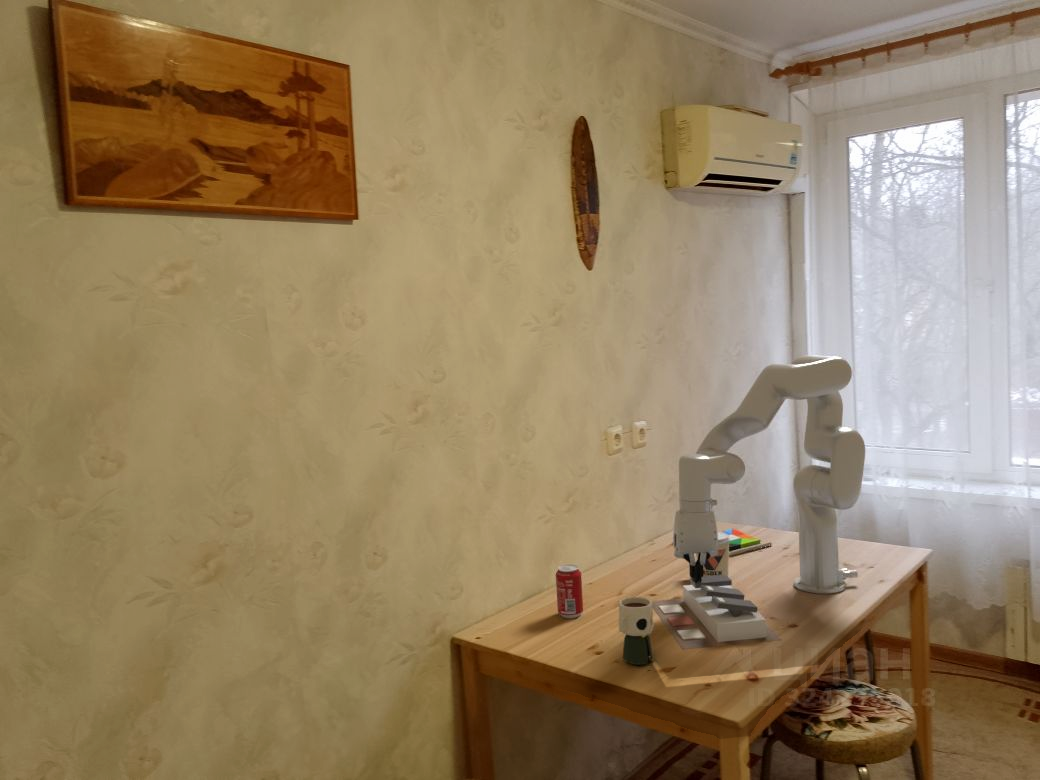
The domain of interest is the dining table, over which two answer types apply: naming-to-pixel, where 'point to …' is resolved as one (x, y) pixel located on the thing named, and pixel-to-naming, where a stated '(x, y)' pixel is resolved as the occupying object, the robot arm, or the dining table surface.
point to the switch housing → (724, 618)
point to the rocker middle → (722, 592)
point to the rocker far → (712, 581)
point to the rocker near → (734, 605)
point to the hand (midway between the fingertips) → (696, 579)
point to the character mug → (636, 628)
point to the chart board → (694, 626)
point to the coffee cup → (718, 558)
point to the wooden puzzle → (742, 542)
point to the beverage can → (569, 591)
